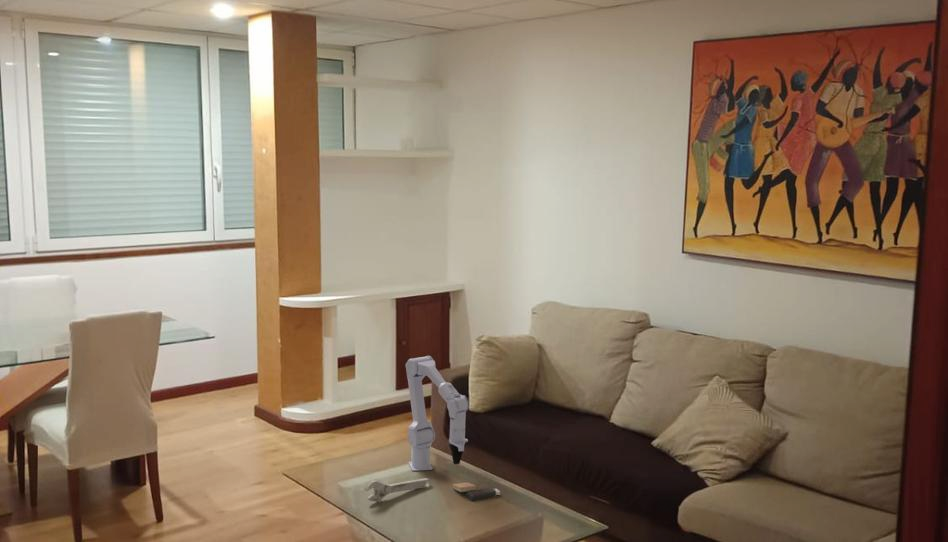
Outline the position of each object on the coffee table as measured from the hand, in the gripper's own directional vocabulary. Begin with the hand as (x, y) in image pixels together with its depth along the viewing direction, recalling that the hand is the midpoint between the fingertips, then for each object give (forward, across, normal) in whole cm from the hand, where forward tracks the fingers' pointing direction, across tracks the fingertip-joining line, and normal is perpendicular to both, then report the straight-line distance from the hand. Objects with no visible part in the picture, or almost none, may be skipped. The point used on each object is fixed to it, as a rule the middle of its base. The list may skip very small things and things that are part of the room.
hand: (456, 463), depth 305 cm
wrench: (+8, -7, +23) cm, 25 cm away
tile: (+6, -8, -1) cm, 10 cm away
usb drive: (+8, -14, -7) cm, 18 cm away
